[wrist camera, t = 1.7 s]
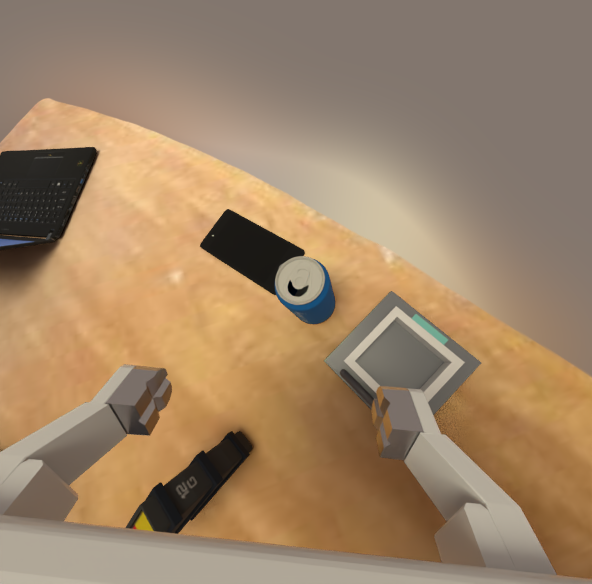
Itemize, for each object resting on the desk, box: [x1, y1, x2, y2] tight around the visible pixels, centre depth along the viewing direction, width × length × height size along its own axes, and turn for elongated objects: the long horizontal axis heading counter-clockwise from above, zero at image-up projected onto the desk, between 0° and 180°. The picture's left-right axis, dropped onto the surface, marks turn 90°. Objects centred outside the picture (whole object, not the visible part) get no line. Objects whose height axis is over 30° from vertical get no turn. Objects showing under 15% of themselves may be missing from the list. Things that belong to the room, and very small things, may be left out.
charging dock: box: [324, 291, 481, 415], centre depth 33 cm, size 14×14×3 cm
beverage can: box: [275, 256, 335, 324], centre depth 33 cm, size 6×6×12 cm
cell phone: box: [200, 209, 305, 295], centre depth 44 cm, size 9×18×1 cm, turn 56°
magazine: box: [126, 431, 253, 534], centre depth 30 cm, size 4×13×15 cm, turn 137°
